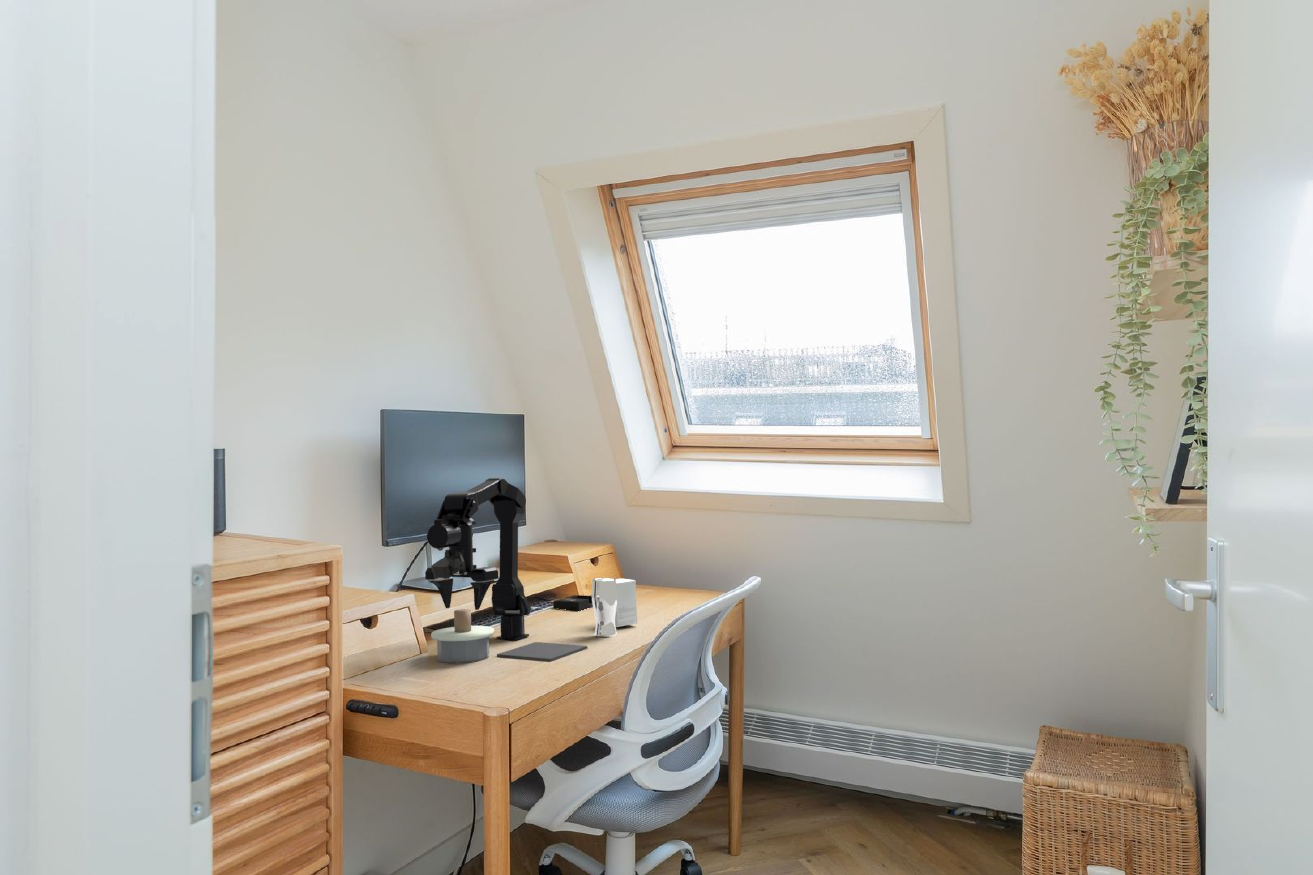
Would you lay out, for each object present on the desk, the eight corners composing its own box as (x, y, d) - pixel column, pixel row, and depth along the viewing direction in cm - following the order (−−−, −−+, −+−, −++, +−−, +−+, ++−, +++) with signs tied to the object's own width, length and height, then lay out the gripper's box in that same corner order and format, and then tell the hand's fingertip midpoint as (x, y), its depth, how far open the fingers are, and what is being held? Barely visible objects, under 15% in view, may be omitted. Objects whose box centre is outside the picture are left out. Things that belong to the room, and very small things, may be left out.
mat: (535, 644, 236) (535, 641, 236) (587, 648, 228) (587, 645, 228) (496, 656, 222) (496, 654, 222) (551, 661, 214) (550, 658, 214)
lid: (459, 628, 232) (458, 604, 232) (506, 631, 225) (506, 607, 225) (418, 638, 218) (417, 613, 219) (466, 642, 211) (466, 616, 212)
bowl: (460, 651, 229) (460, 629, 230) (498, 654, 224) (498, 632, 224) (427, 661, 219) (427, 638, 219) (466, 664, 213) (466, 641, 213)
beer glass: (595, 638, 241) (594, 581, 242) (590, 633, 248) (588, 578, 248) (621, 636, 243) (619, 579, 244) (615, 631, 250) (613, 577, 250)
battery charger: (579, 614, 284) (578, 601, 284) (553, 613, 288) (552, 600, 288) (599, 608, 295) (599, 595, 296) (574, 607, 300) (574, 594, 300)
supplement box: (623, 621, 267) (621, 577, 268) (637, 623, 261) (636, 579, 262) (602, 624, 263) (600, 580, 263) (616, 627, 257) (615, 582, 257)
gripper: (408, 547, 220) (410, 612, 219) (468, 548, 211) (470, 616, 210) (440, 543, 229) (441, 605, 229) (499, 544, 221) (500, 608, 220)
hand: (462, 608), depth 222 cm, fingers open, 9 cm apart
